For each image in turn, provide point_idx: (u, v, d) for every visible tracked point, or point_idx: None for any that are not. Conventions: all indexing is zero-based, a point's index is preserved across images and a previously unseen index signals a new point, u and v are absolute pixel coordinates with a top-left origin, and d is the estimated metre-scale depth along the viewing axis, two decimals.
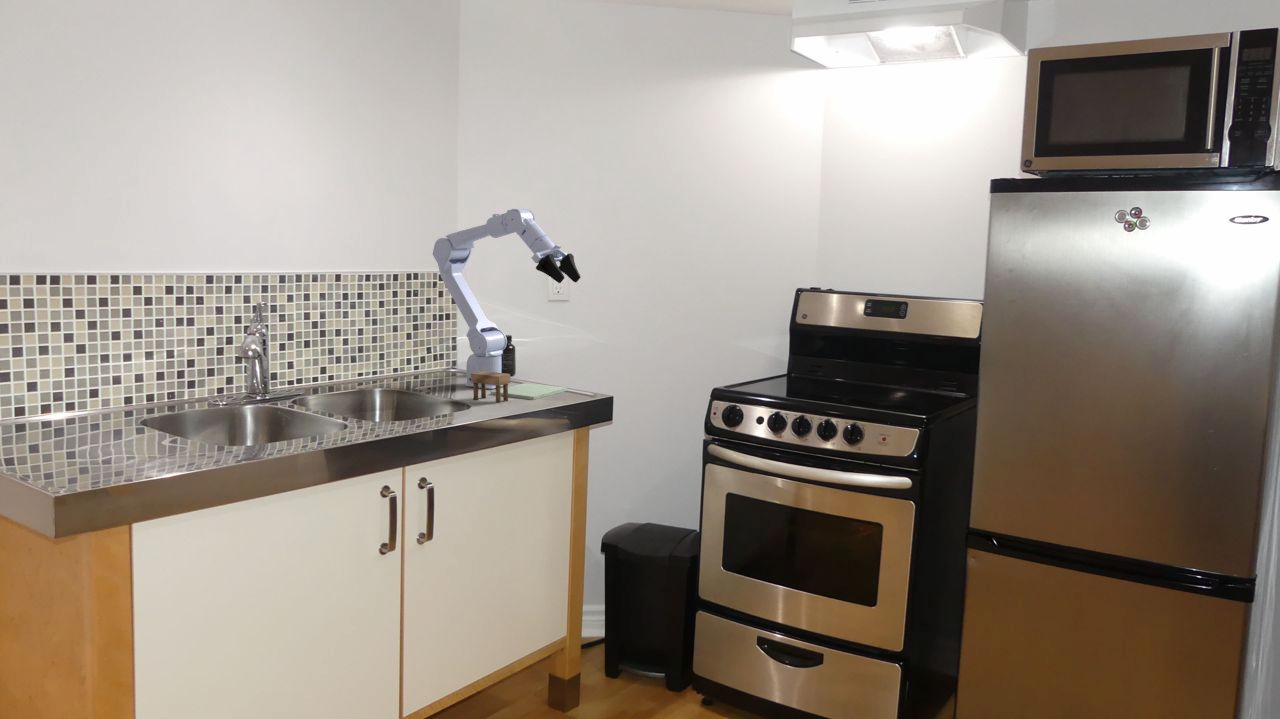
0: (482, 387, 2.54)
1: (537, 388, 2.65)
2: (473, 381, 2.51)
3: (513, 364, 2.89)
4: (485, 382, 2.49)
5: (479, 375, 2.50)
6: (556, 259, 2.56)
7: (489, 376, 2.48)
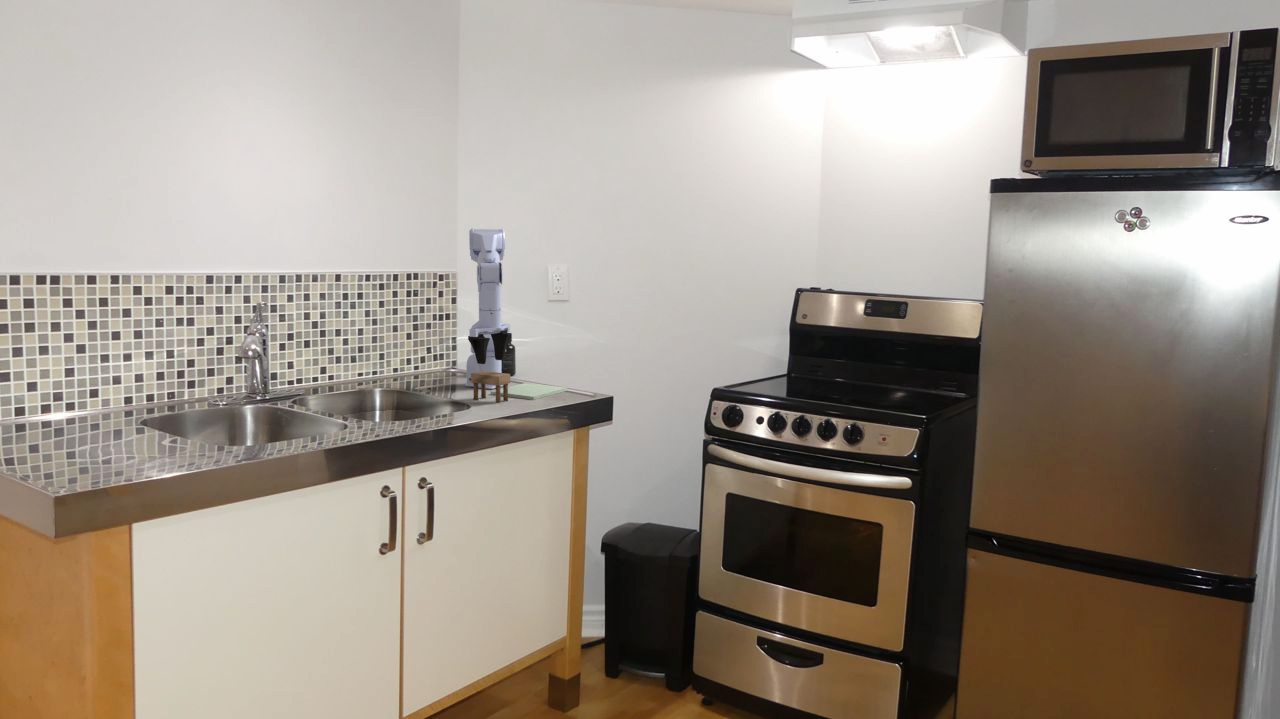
0: (482, 387, 2.54)
1: (537, 388, 2.65)
2: (473, 381, 2.51)
3: (513, 364, 2.89)
4: (485, 382, 2.49)
5: (479, 375, 2.50)
6: (493, 333, 2.50)
7: (489, 376, 2.48)
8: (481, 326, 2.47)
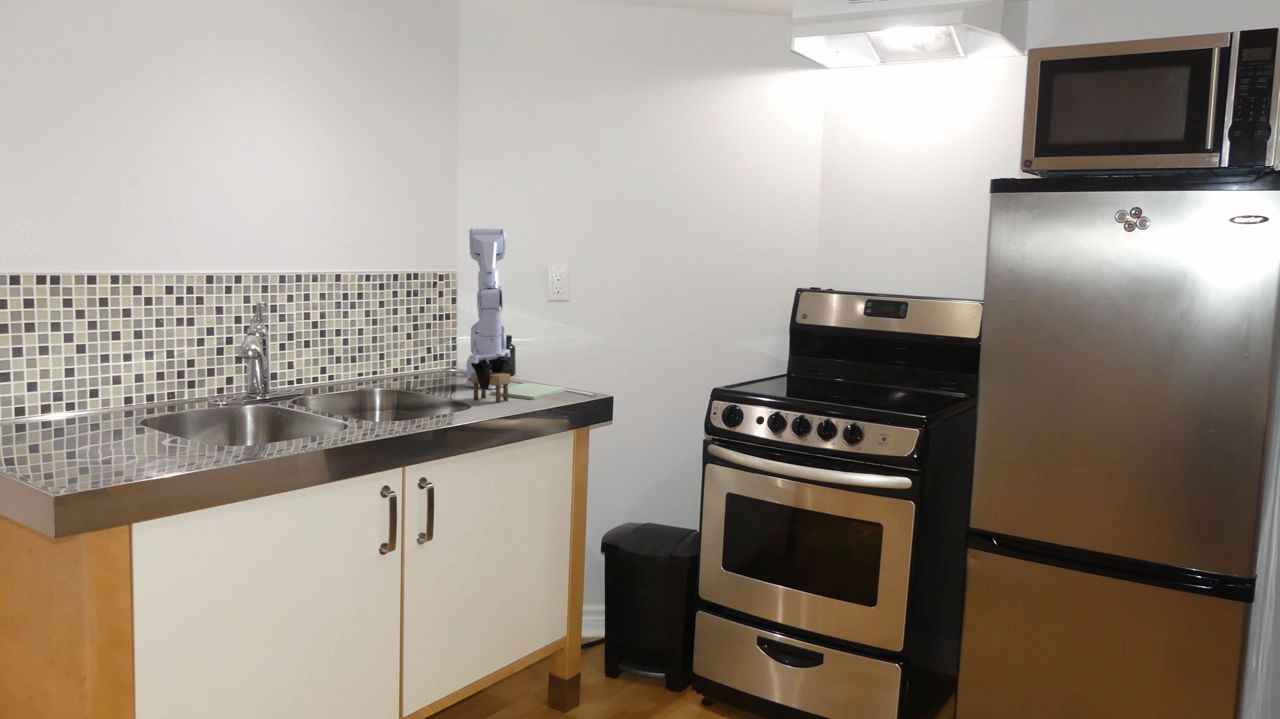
0: None
1: (537, 388, 2.65)
2: (473, 381, 2.51)
3: (513, 364, 2.89)
4: None
5: None
6: (494, 359, 2.51)
7: None
8: (481, 352, 2.48)
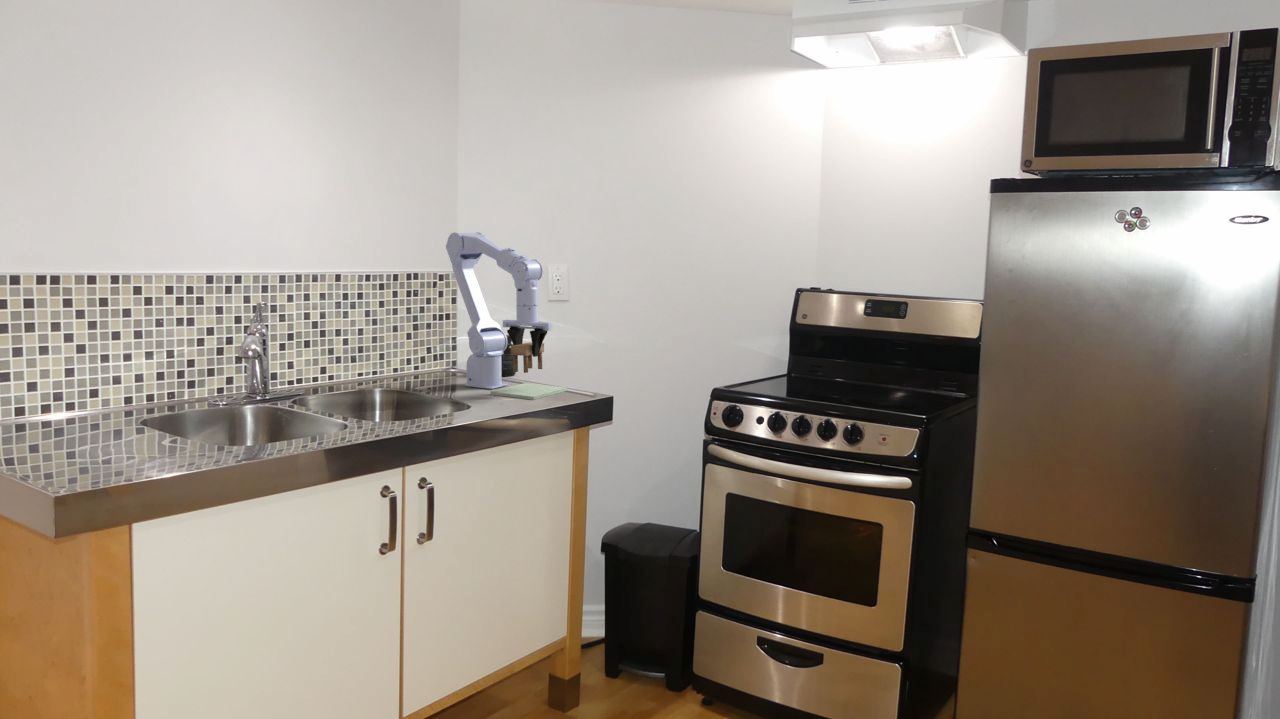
0: None
1: (537, 388, 2.65)
2: None
3: None
4: None
5: None
6: (530, 328, 2.59)
7: None
8: None
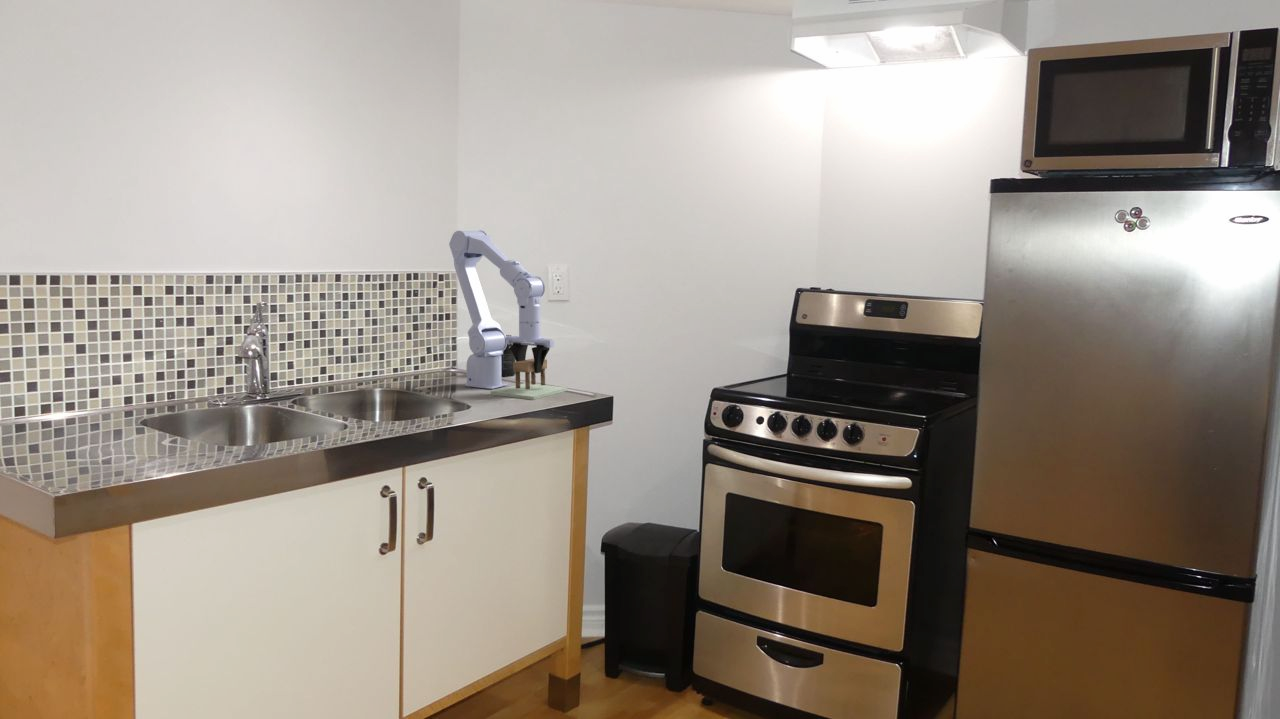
0: None
1: (537, 388, 2.65)
2: None
3: None
4: None
5: None
6: (532, 345, 2.60)
7: None
8: None
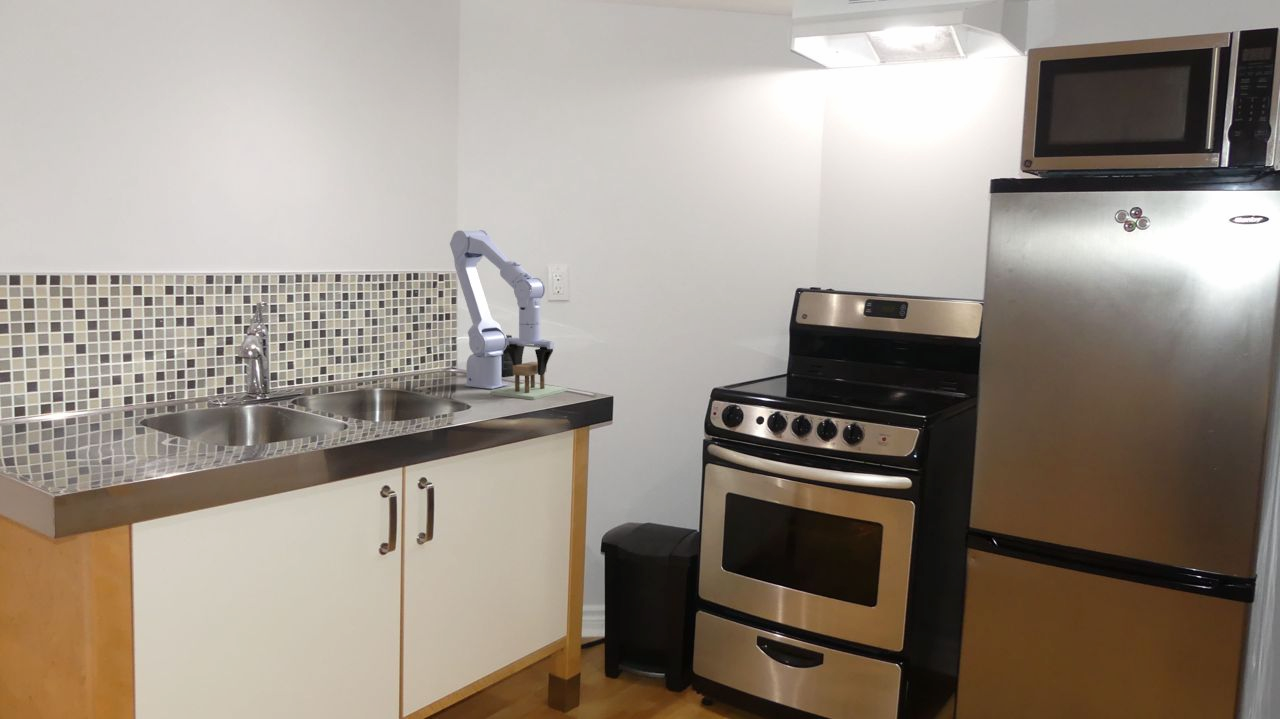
0: None
1: (537, 388, 2.65)
2: None
3: None
4: None
5: None
6: None
7: None
8: None
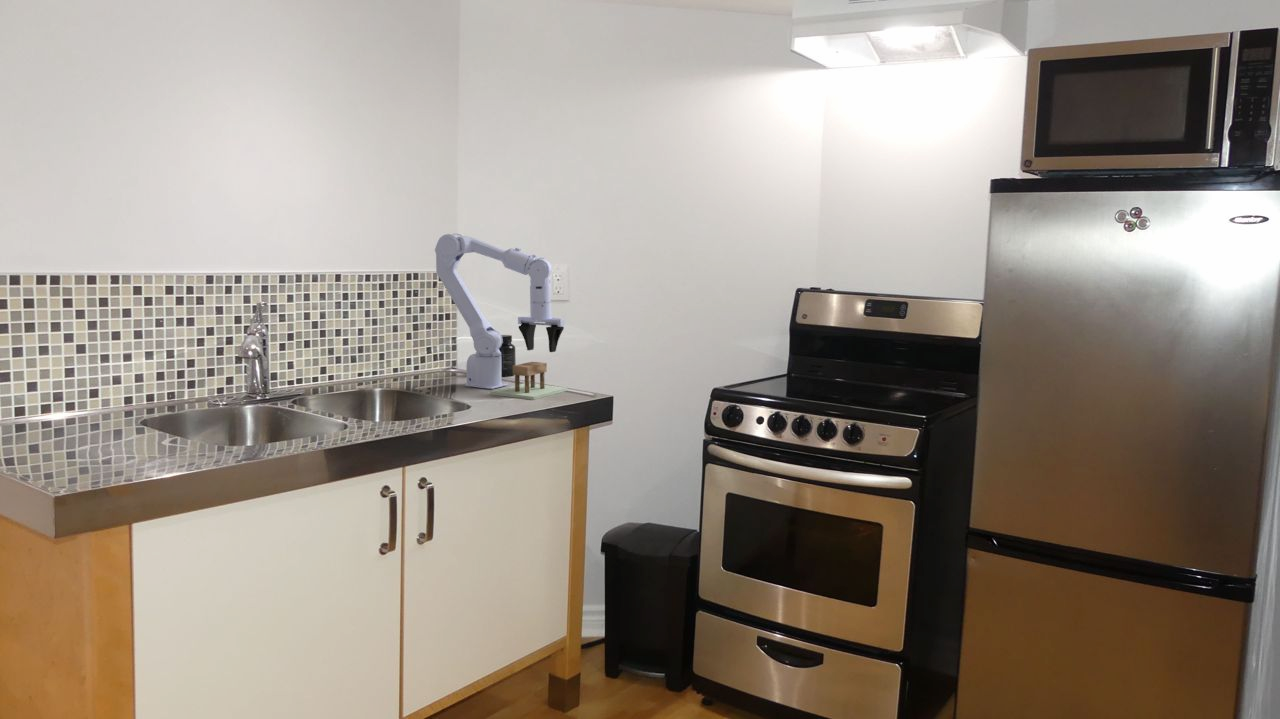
0: None
1: (537, 388, 2.65)
2: None
3: (513, 364, 2.89)
4: None
5: None
6: None
7: None
8: None
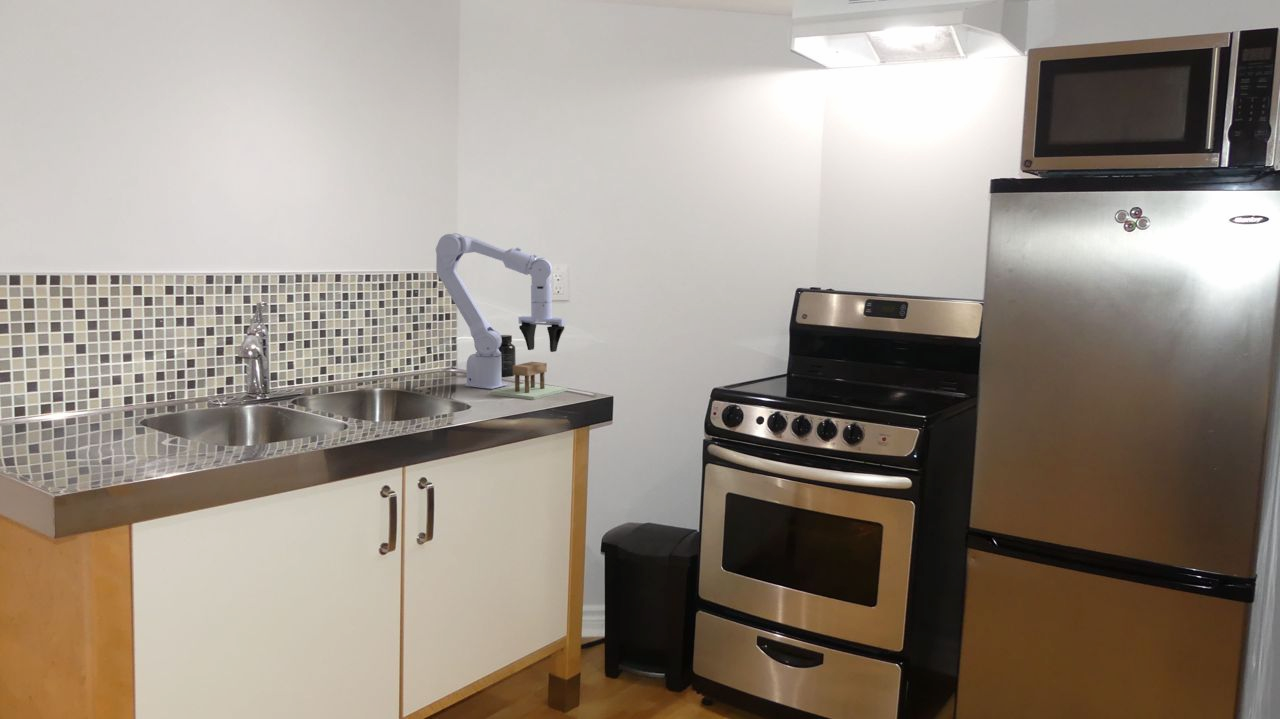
0: None
1: (537, 388, 2.65)
2: None
3: (513, 364, 2.89)
4: None
5: None
6: (544, 324, 2.69)
7: None
8: None
